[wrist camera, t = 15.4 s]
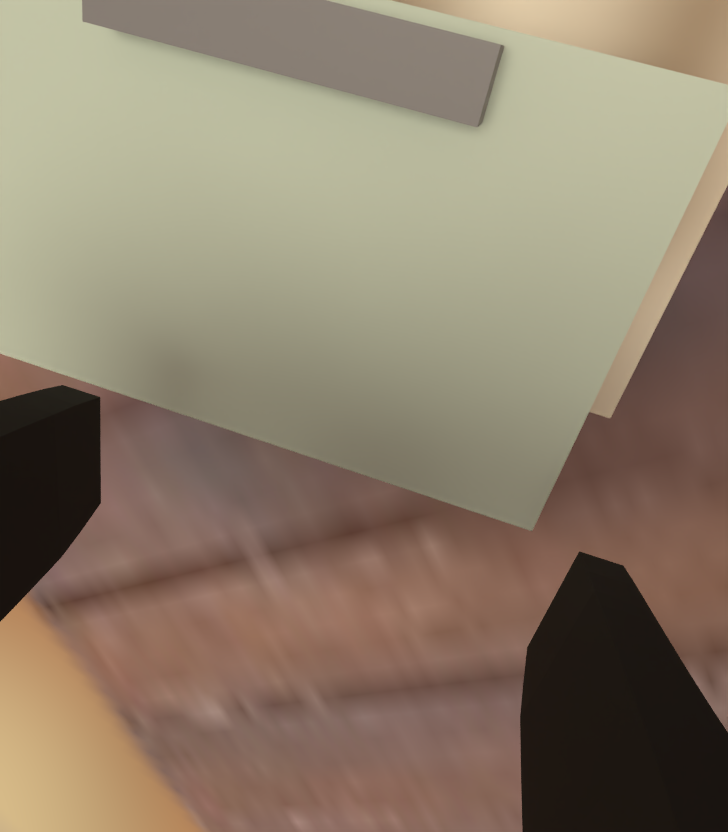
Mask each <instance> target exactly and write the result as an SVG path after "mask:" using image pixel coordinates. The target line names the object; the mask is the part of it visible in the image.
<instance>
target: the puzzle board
mask: <svg viewBox="0 0 728 832" xmlns="http://www.w3.org/2000/svg"><path fill="white" fill-rule="evenodd" d="M392 1H396V2H400V3H404V4H408V5H412V6H416V7H420V8H424V9H428V10H432V11H436V12H440V13H444V14H448V15H452V16H456V17H460V18H464V19H468V20H472V21H476V22H480V23H484V24H488V25H492V26H496V27H500V28H504V29H508V30H512V31H516V32H520V33H524V34H528V35H532V36H536V37H540V38H544V39H548V40H552V41H556V42H560V43H564V44H568V45H572V46H576V47H580V48H584V49H588V50H592V51H596V52H600V53H604V54H608V55H612V56H615V57H619V58H623V59H627V60H631V61H635V62H639V63H643V64H647V65H651V66H655V67H659V68H663V69H667V70H671V71H675V72H679V73H683V74H687V75H691V76H695V77H699V78H703V79H707V80H711V81H715V82H719V83H723V84H727V85H728V0H392ZM727 185H728V123H727V125H726V127H725V129H724V131H723V133H722V135H721V137H720V139H719V141H718V143H717V146H716V148H715V150H714V152H713V154H712V156H711V158H710V160H709V162H708V164H707V166H706V169H705V171H704V173H703V175H702V177H701V179H700V181H699V183H698V185H697V187H696V189H695V192H694V194H693V196H692V198H691V200H690V202H689V204H688V206H687V208H686V210H685V212H684V215H683V217H682V219H681V221H680V223H679V225H678V227H677V229H676V231H675V233H674V235H673V238H672V240H671V242H670V244H669V246H668V248H667V250H666V252H665V254H664V256H663V258H662V261H661V263H660V265H659V267H658V269H657V271H656V273H655V275H654V277H653V279H652V281H651V284H650V286H649V288H648V290H647V292H646V294H645V296H644V298H643V300H642V302H641V304H640V306H639V309H638V311H637V313H636V315H635V317H634V319H633V321H632V323H631V325H630V327H629V329H628V332H627V334H626V336H625V338H624V340H623V342H622V344H621V346H620V348H619V350H618V352H617V355H616V357H615V359H614V361H613V363H612V365H611V367H610V369H609V371H608V373H607V375H606V378H605V380H604V382H603V384H602V386H601V388H600V390H599V392H598V394H597V396H596V398H595V401H594V403H593V405H592V407H591V409H590V411H589V412H591V413H594V414H598V415H601V416H604V417H607V418H611V416H612V414H613V412H614V410H615V408H616V406H617V404H618V402H619V400H620V398H621V396H622V394H623V392H624V390H625V388H626V386H627V384H628V382H629V380H630V378H631V376H632V374H633V372H634V370H635V368H636V366H637V364H638V362H639V360H640V358H641V356H642V354H643V352H644V350H645V348H646V346H647V344H648V342H649V340H650V338H651V336H652V334H653V332H654V330H655V328H656V326H657V324H658V322H659V320H660V318H661V316H662V315H663V313H664V311H665V309H666V307H667V305H668V303H669V301H670V299H671V297H672V295H673V293H674V291H675V289H676V287H677V285H678V283H679V281H680V279H681V277H682V275H683V273H684V271H685V269H686V267H687V265H688V263H689V261H690V259H691V257H692V255H693V253H694V251H695V249H696V247H697V245H698V243H699V241H700V239H701V237H702V235H703V233H704V231H705V229H706V227H707V225H708V223H709V221H710V219H711V217H712V215H713V213H714V211H715V209H716V207H717V205H718V203H719V201H720V199H721V197H722V195H723V193H724V191H725V189H726V187H727Z"/></svg>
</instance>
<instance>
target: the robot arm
mask: <svg viewBox="0 0 728 832" xmlns="http://www.w3.org/2000/svg"><path fill="white" fill-rule="evenodd" d="M100 503H101V474H100V397H98V396H95V395H92V394H88V393H85V392H82V391H79V390H76V389H73V388H70V387H67V386H64V385H61V386H57V387H52V388H47V389H43V390H39V391H35V392H31V393H27V394H24V395H20V396H16V397H13V398H9V399H6V400H2V401H0V621H1V620H2V619H3V618H4V617H5V616H6V615H7V614H8V613H9V612H10V611H11V610H12V609H13V608H14V607H15V606H16V605H17V604H18V603H19V602H20V601H21V599H22V598H23V597H24V596H25V595H26V594H27V593H28V592H29V591H30V590H31V589H32V588H33V587H34V586H35V585H36V584H37V583H38V582H39V580H40V579H41V578H42V577H43V576H44V575H45V574H46V573H47V572H48V571H49V570H50V569H51V568H52V567H53V566H54V564H55V563H56V562H57V561H58V560H59V559H60V558H61V557H62V555H63V554H64V553H65V552H66V550H67V549H68V548H69V546H70V545H71V544H72V542H73V541H74V540H75V538H76V537H77V536H78V534H79V533H80V532H81V530H82V529H83V527H84V526H85V525H86V523H87V522H88V520H89V519H90V518H91V516H92V515H93V513H94V512H95V510H96V509H97V508H98V506H99V505H100ZM520 726H521V784H522V825H523V832H728V732H727V731H726V729H725V728H724V726H723V725H722V723H721V722H720V720H719V719H718V717H717V716H716V714H715V713H714V711H713V710H712V708H711V706H710V705H709V703H708V702H707V700H706V699H705V697H704V696H703V694H702V692H701V691H700V689H699V688H698V686H697V685H696V683H695V681H694V680H693V678H692V677H691V675H690V674H689V672H688V670H687V669H686V667H685V665H684V664H683V662H682V661H681V659H680V657H679V656H678V654H677V653H676V651H675V649H674V648H673V646H672V644H671V643H670V641H669V639H668V638H667V636H666V634H665V633H664V631H663V629H662V628H661V626H660V625H659V623H658V621H657V620H656V618H655V616H654V615H653V613H652V611H651V610H650V608H649V606H648V605H647V603H646V601H645V600H644V598H643V596H642V595H641V593H640V591H639V590H638V588H637V586H636V585H635V583H634V582H633V580H632V578H631V577H630V575H629V574H628V572H627V571H626V569H625V568H624V566H623V565H620V564H616V563H613V562H610V561H607V560H604V559H601V558H598V557H595V556H592V555H589V554H585V553H582V552H579V553H578V555H577V557H576V559H575V560H574V562H573V564H572V566H571V568H570V570H569V572H568V573H567V575H566V577H565V579H564V581H563V583H562V584H561V586H560V588H559V590H558V592H557V594H556V596H555V597H554V599H553V601H552V603H551V605H550V607H549V608H548V610H547V612H546V614H545V616H544V618H543V620H542V621H541V623H540V625H539V627H538V629H537V631H536V632H535V634H534V636H533V638H532V640H531V642H530V644H529V645H528V647H527V656H526V665H525V674H524V683H523V693H522V705H521V716H520Z"/></svg>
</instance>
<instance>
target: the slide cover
mask: <svg viewBox="0 0 728 832" xmlns="http://www.w3.org/2000/svg"><path fill="white" fill-rule="evenodd" d="M727 123H728V85H727V84H723V83H719V82H715V81H711V80H707V79H703V78H699V77H695V76H691V75H687V74H683V73H679V72H675V71H671V70H667V69H663V68H659V67H655V66H651V65H647V64H643V63H639V62H635V61H631V60H627V59H623V58H619V57H615V56H612V55H608V54H604V53H600V52H596V51H592V50H588V49H584V48H580V47H576V46H572V45H568V44H564V43H560V42H556V41H552V40H548V39H544V38H540V37H536V36H532V35H528V34H524V33H520V32H516V31H512V30H508V29H504V28H500V27H496V26H492V25H488V24H484V23H480V22H476V21H472V20H468V19H464V18H460V17H456V16H452V15H448V14H444V13H440V12H436V11H432V10H428V9H424V8H420V7H416V6H412V5H408V4H404V3H400V2H396V1H392V0H0V354H3V355H6V356H9V357H12V358H15V359H18V360H21V361H24V362H27V363H30V364H33V365H36V366H39V367H42V368H45V369H48V370H51V371H54V372H57V373H60V374H63V375H66V376H69V377H72V378H75V379H78V380H81V381H84V382H87V383H90V384H93V385H96V386H99V387H102V388H105V389H108V390H111V391H114V392H117V393H120V394H123V395H126V396H129V397H132V398H135V399H138V400H141V401H144V402H147V403H150V404H153V405H156V406H159V407H162V408H165V409H168V410H171V411H174V412H177V413H180V414H183V415H186V416H189V417H192V418H195V419H198V420H201V421H204V422H207V423H210V424H213V425H216V426H219V427H222V428H225V429H228V430H231V431H234V432H237V433H240V434H243V435H246V436H249V437H252V438H255V439H258V440H261V441H264V442H267V443H270V444H273V445H276V446H279V447H282V448H285V449H288V450H291V451H294V452H297V453H300V454H303V455H306V456H309V457H312V458H315V459H318V460H321V461H324V462H327V463H330V464H333V465H336V466H338V467H341V468H344V469H347V470H350V471H353V472H356V473H359V474H362V475H365V476H368V477H371V478H374V479H377V480H380V481H383V482H386V483H389V484H392V485H395V486H398V487H401V488H404V489H407V490H410V491H413V492H416V493H419V494H422V495H425V496H428V497H431V498H434V499H437V500H440V501H443V502H446V503H449V504H452V505H455V506H458V507H461V508H464V509H467V510H470V511H473V512H476V513H479V514H482V515H485V516H488V517H491V518H494V519H497V520H500V521H503V522H506V523H509V524H512V525H515V526H518V527H521V528H524V529H527V530H530V531H532V530H533V528H534V526H535V524H536V522H537V520H538V518H539V516H540V513H541V511H542V509H543V507H544V505H545V503H546V501H547V499H548V497H549V495H550V493H551V490H552V488H553V486H554V484H555V482H556V480H557V478H558V476H559V474H560V472H561V470H562V467H563V465H564V463H565V461H566V459H567V457H568V455H569V453H570V451H571V449H572V447H573V444H574V442H575V440H576V438H577V436H578V434H579V432H580V430H581V428H582V426H583V424H584V421H585V419H586V417H587V415H588V413H589V411H590V409H591V407H592V405H593V403H594V401H595V398H596V396H597V394H598V392H599V390H600V388H601V386H602V384H603V382H604V380H605V378H606V375H607V373H608V371H609V369H610V367H611V365H612V363H613V361H614V359H615V357H616V355H617V352H618V350H619V348H620V346H621V344H622V342H623V340H624V338H625V336H626V334H627V332H628V329H629V327H630V325H631V323H632V321H633V319H634V317H635V315H636V313H637V311H638V309H639V306H640V304H641V302H642V300H643V298H644V296H645V294H646V292H647V290H648V288H649V286H650V284H651V281H652V279H653V277H654V275H655V273H656V271H657V269H658V267H659V265H660V263H661V261H662V258H663V256H664V254H665V252H666V250H667V248H668V246H669V244H670V242H671V240H672V238H673V235H674V233H675V231H676V229H677V227H678V225H679V223H680V221H681V219H682V217H683V215H684V212H685V210H686V208H687V206H688V204H689V202H690V200H691V198H692V196H693V194H694V192H695V189H696V187H697V185H698V183H699V181H700V179H701V177H702V175H703V173H704V171H705V169H706V166H707V164H708V162H709V160H710V158H711V156H712V154H713V152H714V150H715V148H716V146H717V143H718V141H719V139H720V137H721V135H722V133H723V131H724V129H725V127H726V125H727Z"/></svg>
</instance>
